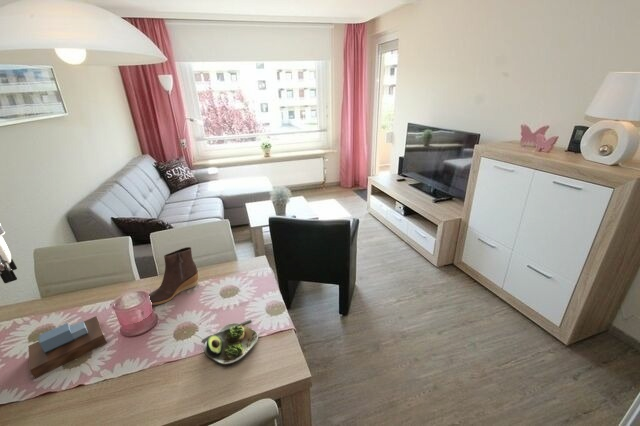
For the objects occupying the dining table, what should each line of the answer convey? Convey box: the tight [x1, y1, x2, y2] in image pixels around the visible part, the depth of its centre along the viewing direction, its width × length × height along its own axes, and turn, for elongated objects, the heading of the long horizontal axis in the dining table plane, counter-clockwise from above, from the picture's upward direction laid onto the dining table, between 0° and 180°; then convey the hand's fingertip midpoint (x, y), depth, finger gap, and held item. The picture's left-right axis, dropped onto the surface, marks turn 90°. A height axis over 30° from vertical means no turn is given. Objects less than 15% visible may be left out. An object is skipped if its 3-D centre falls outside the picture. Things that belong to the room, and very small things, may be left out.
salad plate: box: [200, 319, 259, 367], centre depth 104 cm, size 19×18×5 cm
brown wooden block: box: [28, 315, 108, 379], centre depth 105 cm, size 20×14×4 cm
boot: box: [148, 246, 199, 306], centre depth 129 cm, size 9×24×20 cm, turn 134°
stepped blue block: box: [38, 320, 88, 354], centre depth 103 cm, size 12×5×5 cm, turn 134°
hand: (11, 275), depth 104 cm, fingers open, 9 cm apart
